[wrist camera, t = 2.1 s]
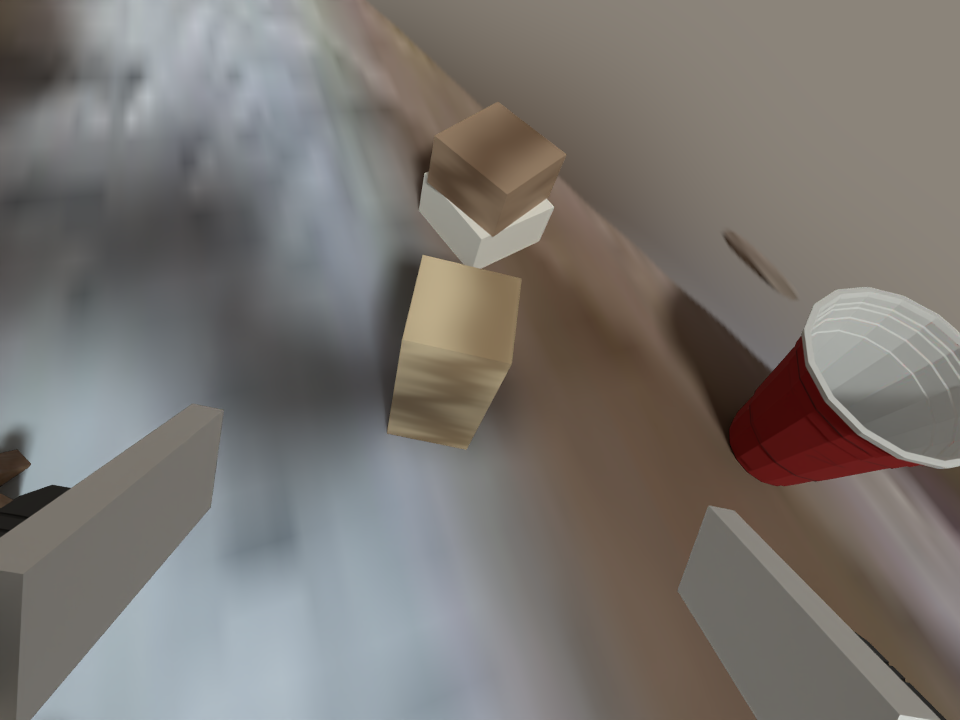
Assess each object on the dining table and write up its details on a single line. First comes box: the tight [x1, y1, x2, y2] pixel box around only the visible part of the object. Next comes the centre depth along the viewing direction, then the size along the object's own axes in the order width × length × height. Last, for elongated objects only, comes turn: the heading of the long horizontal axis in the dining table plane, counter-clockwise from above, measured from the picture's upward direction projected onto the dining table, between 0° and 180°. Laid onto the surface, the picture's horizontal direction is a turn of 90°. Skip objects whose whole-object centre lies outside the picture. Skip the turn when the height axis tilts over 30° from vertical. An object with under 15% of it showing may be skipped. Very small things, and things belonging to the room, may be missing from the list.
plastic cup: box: [729, 287, 960, 486], centre depth 34 cm, size 11×11×12 cm
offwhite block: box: [419, 172, 554, 269], centre depth 42 cm, size 7×7×4 cm
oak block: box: [387, 255, 521, 450], centre depth 30 cm, size 5×5×11 cm
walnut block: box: [427, 102, 566, 237], centre depth 39 cm, size 6×6×4 cm
